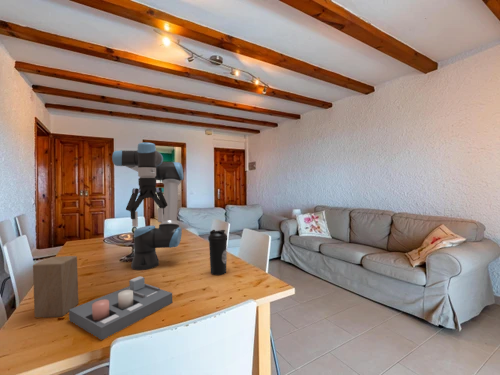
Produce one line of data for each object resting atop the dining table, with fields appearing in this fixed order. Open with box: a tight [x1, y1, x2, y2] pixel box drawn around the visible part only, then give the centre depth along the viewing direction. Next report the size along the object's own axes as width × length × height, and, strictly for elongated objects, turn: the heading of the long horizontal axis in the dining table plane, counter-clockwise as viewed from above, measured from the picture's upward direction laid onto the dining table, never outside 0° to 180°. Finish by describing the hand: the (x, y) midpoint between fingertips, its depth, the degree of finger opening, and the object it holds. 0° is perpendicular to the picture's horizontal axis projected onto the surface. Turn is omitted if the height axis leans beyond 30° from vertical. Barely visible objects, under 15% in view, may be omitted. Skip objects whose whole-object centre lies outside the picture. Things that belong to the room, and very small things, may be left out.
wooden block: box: [32, 255, 79, 318], centre depth 96 cm, size 10×10×20 cm
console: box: [68, 283, 173, 341], centre depth 95 cm, size 22×28×5 cm
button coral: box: [92, 299, 109, 321], centre depth 85 cm, size 5×5×5 cm
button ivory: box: [118, 290, 133, 309], centre depth 93 cm, size 5×5×5 cm
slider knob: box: [129, 275, 146, 291], centre depth 106 cm, size 3×5×4 cm, turn 148°
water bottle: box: [208, 229, 228, 276], centre depth 135 cm, size 10×10×23 cm
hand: (148, 224), depth 113 cm, fingers open, 13 cm apart
